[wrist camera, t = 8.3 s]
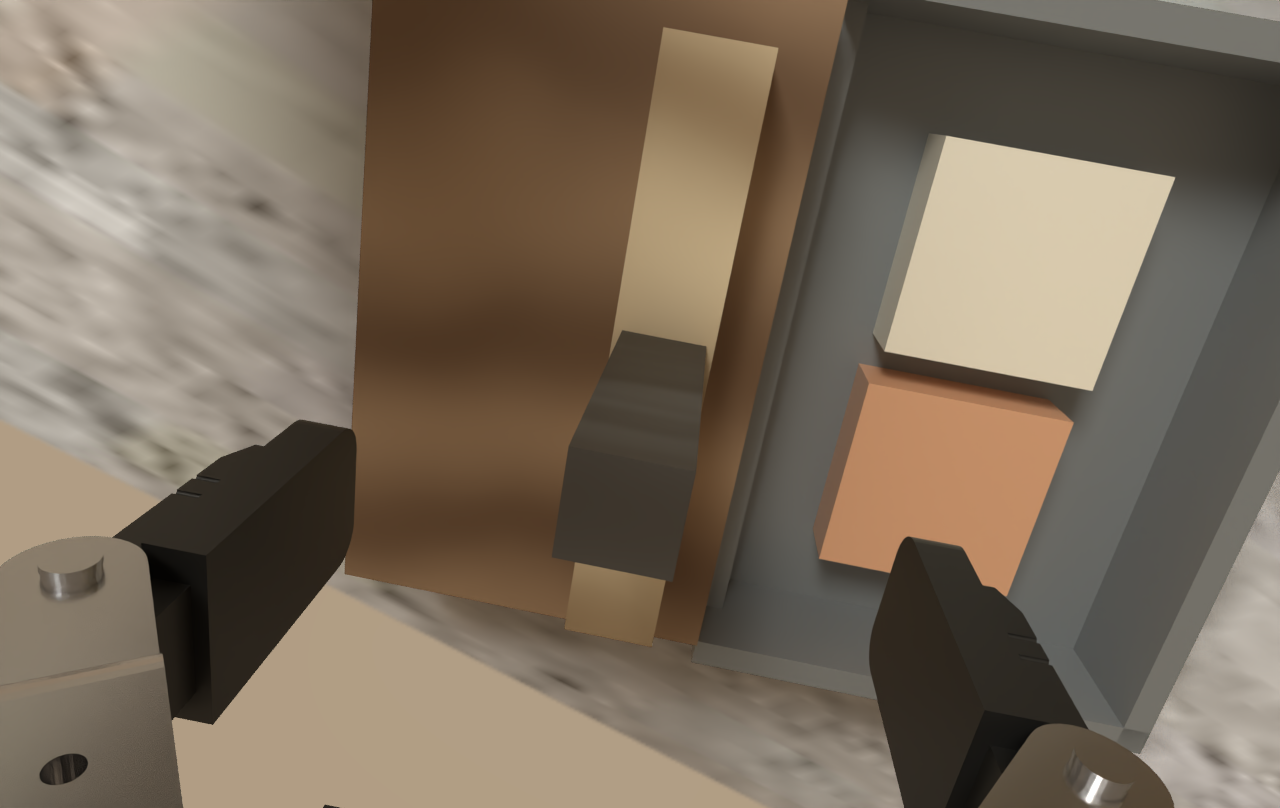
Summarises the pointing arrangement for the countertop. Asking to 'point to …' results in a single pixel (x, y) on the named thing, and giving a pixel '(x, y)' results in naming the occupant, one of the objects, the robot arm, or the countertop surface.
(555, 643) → the countertop surface
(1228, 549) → the box
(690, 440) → the t-shaped block
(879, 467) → the tile
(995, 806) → the robot arm
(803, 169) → the stepped wooden block
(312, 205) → the countertop surface
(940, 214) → the tile
